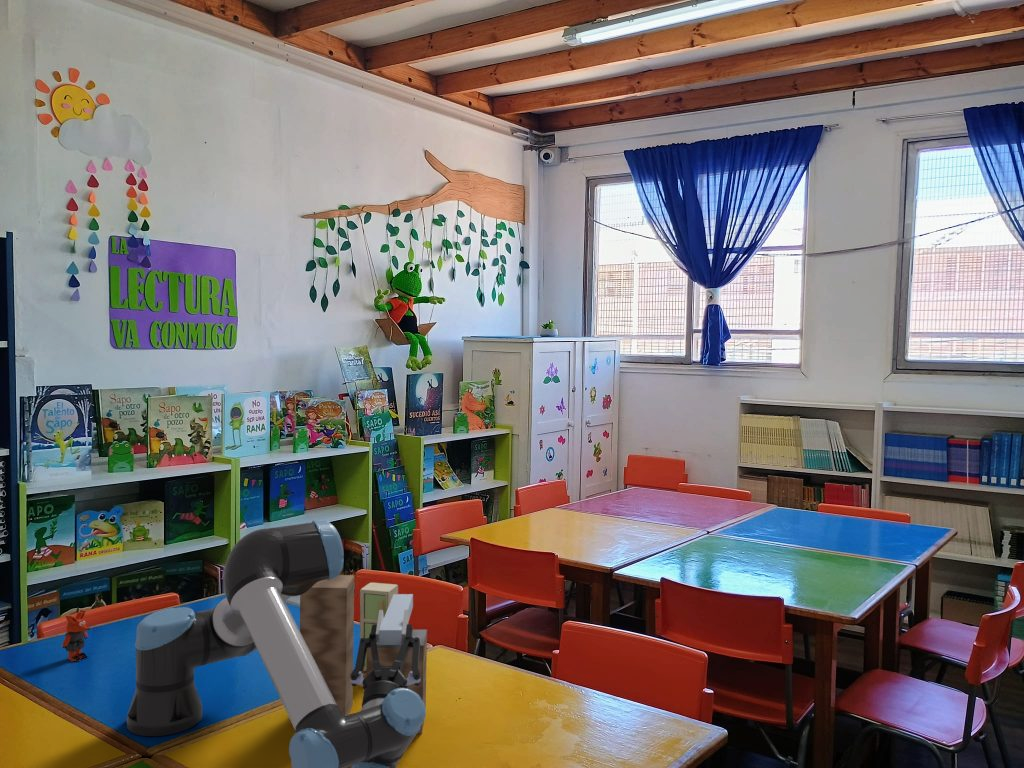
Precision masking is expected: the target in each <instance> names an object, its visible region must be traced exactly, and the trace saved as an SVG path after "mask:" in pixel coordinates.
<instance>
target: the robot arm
mask: <svg viewBox="0 0 1024 768" xmlns="http://www.w3.org/2000/svg"><path fill="white" fill-rule="evenodd" d="M344 557H345V555H344V547H343V542H342V539H341V535H340V533H339V532H338V530H337V528H336V527H335V526H334V525H333V524H332V523H331V522H329V521H327V520H318V521H316V520H312V521H311V522H305V523H297V524H291V525H283V526H276V527H275V526H274V527H269V528H259V529H256V530H253V531H251V532H249V533H248V534H245V535H244V536H243V537H241V539H239V540H238V541H237V542H236V543H235V545H234V546H233V547H232V548H231V551H230V552H229V554H228V556H227V558H226V561H225V565H224V569H223V590H224V595H225V598H223V599H222V600H221V601H219V603H218V604H216V605H215V607H213V608H211V609H205V610H200V611H197V612H196V611H194V610H193V609H192V608H190V607H185V606H177V607H169V608H165V609H160V610H159V611H156V612H153V613H151V614H148V615H146V616H144V618H142V620H141V621H140V622H139V623H138V624H137V627H136V635H135V636H136V637H135V642H134V646H135V691H134V695H133V697H132V700H131V703H130V706H129V708H128V711H127V715H126V728H127V730H128V731H129V732H130V733H131V734H134V735H137V736H142V737H162V736H169V735H173V734H177V733H182V732H184V731H186V730H189V729H191V728H193V727H194V726H197V724H199V723H200V721H201V720H202V719H203V704H202V701H201V698H200V696H199V693H198V690H197V687H196V684H195V669H196V668H198V667H202V666H206V665H210V664H213V663H218V662H223V661H226V660H230V659H235V658H240V657H245V656H249V655H250V654H252V653H254V652H258V655H259V657H260V659H261V661H262V663H263V665H264V667H265V669H266V671H267V674H268V675H269V678H270V680H271V682H272V684H273V686H274V688H275V690H276V693H277V694H278V697H279V699H280V701H281V703H282V705H283V707H284V709H285V711H286V714H287V716H288V718H289V720H290V722H291V724H292V726H293V729H294V731H295V733H294V734H293V736H292V737H291V739H290V741H289V744H288V746H289V747H288V748H289V749H288V753H289V757H290V759H291V761H290V764H291V767H292V768H349V767H350V768H397V765H398V763H399V761H400V760H401V758H402V757H403V755H404V753H405V752H406V750H407V749H408V747H409V746H410V744H411V742H412V741H413V740H414V738H415V737H416V735H417V734H419V733H418V731H419V729H420V726H421V724H422V723H423V721H424V722H425V719H426V715H427V710H426V709H427V708H425V705H424V702H423V700H422V699H421V697H420V696H419V695H418V694H417V693H415V692H414V691H412V690H410V689H407V686H408V685H411V684H415V685H416V686H418V685H420V673H419V670H418V668H419V655H420V639H419V638H418V637H416V638H413V637H412V632H413V630H414V629H413V624H412V623H409V622H408V621H410V618H409V616H408V610H404V618H403V628H402V645H401V648H400V650H399V653H398V655H397V657H396V660H395V661H394V663H393V665H392V666H380V662H379V656H378V650H377V643H379V629H380V627H381V625H382V622H383V620H384V616H383V610H379V615H378V622H377V625H372V628H371V633H370V634H369V638H361V639H360V638H359V645H358V651H357V656H356V661H355V666H354V668H353V672H352V673H351V675H350V676H351V684H352V686H353V687H356V686H358V685H359V686H362V688H363V695H362V700H361V701H362V702H361V708H360V710H359V711H357V712H355V713H354V712H353V713H351V714H350V713H349V715H348V716H343V715H342V713H341V711H340V710H339V708H338V706H337V704H336V702H335V700H334V698H333V696H332V694H331V692H330V690H329V688H328V686H327V684H326V682H325V680H324V678H323V676H322V674H321V672H320V670H319V668H318V666H317V664H316V662H315V660H314V658H313V656H312V654H311V652H310V650H309V648H308V646H307V644H306V642H305V641H304V639H303V637H302V635H301V633H300V628H299V627H298V625H297V622H296V621H295V618H294V617H293V614H292V613H291V610H290V608H289V607H288V605H287V603H286V602H287V601H288V600H289V599H291V597H300V595H302V594H304V593H305V592H307V591H308V590H309V589H310V588H311V587H312V586H313V585H315V584H316V583H317V582H319V581H322V580H326V579H327V580H330V579H331V578H335V577H337V576H338V575H341V572H342V571H343V567H344V561H345V560H344V559H345V558H344ZM369 647H371V654H372V661H373V668H374V670H373V671H372V672H371V673H370V674H369V675H368V676H367V677H364V671H363V669H364V663H365V657H366V651H367V648H369ZM412 647H413V653H412V664H411V669H412V671H410V673H409V675H408V678H405V676H404V675H403V674H402V673H401V672H402V668H403V665H404V663H405V660H406V658H407V655H408V653H409V650H410V648H412Z"/></svg>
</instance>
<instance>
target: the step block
mask: <svg viewBox="0 0 1024 768" xmlns="http://www.w3.org/2000/svg"><path fill="white" fill-rule="evenodd" d="M412 637H413V638H416V637H418V638H419V639H420V655H419V668H418V670H419V673H420V685H418V686H416V685H415V684H411V685H408V686H407V689H410V690H412V691H414V692H415V693H417V694H418V695H419V696H420V697H421V699H422V700H423V702H424V705H425V708H426V706H427V700H426V698H427V660H428V659H427V654H428V652H427V642H428V629H413V632H412ZM400 648H401V645H379V643H377V650H378V656H379V662H380V666H392V665H393V663H394V661H395V660H396V657H397V655H398V653H399V650H400ZM412 653H413V647H412V648H410V650H409V653H408V655H407V658H406V660H405V663H404V665H403V668H402V672H401V673H402V674H403V675H404V676H405V678H408V675H409V673H410V671H412V669H411V664H412ZM373 670H374V668H373V661H372V654H371V647H369V648H367V668H366V671H365V672H366V673H365V674H366V677H367V676H368V675H369V674H370V673H371V672H372V671H373ZM366 677H365V678H366ZM426 709H427V708H426ZM424 725H425V720H424V721H423V723H422V724H421V726H420V729H419V731H418V733H417V734H423V731H424Z"/></svg>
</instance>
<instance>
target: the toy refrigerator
mask: <svg viewBox="0 0 1024 768" xmlns="http://www.w3.org/2000/svg"><path fill="white" fill-rule="evenodd" d="M393 594H399V585H398V584H395V583H393V584H392V583H383V582H381V583H380V582H369V583H367V584H366V585H365V586H363V587H362V588H361V589H360V591H359V599H360V600H359V603H360V604H359V606H360V607H359V612H360V614H359V640H360V639H361V638H369V634H370V633H371V628H372V625H377V622H378V615H379V610H383V616H384V617H385V614H386V612H387V609H388V607H389V604H390V602H391V599H392V597H393ZM366 668H367V651H366V657H365V663H364V669H363V672H366Z"/></svg>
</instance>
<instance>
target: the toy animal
mask: <svg viewBox="0 0 1024 768" xmlns="http://www.w3.org/2000/svg"><path fill="white" fill-rule="evenodd" d="M86 612H87V610H86V609H80V610H79V611H78V612H77V613H76V615H75V616H74V615H70V614H69V615H65V619H66V622H67V624H66V633H65V637H64V640H63V643H61V647H62V648H63V649H65V650H66V652H68V659H69V660H71V661H70V662H72V661H79V660H81V661H82V659H80V658H85V657H89V656H87V654H86V652H82V649H83V648H84V647H85V644H86V643H85V640H87V639H88V637H89V634H88V633H87V631H89V630H90V627H88V626H87V623H86V621H85V620H84V617H85V616H86ZM69 660H68V661H69ZM79 662H80V661H79Z"/></svg>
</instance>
